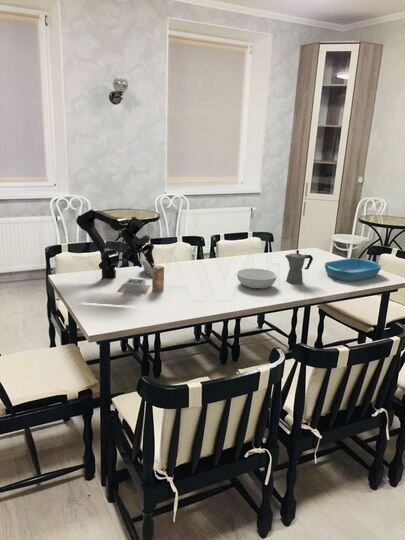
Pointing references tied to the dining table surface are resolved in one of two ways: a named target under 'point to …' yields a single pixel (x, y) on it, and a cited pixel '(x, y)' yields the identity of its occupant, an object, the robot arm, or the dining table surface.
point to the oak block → (158, 279)
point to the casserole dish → (352, 269)
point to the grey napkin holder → (148, 266)
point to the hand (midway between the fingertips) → (147, 265)
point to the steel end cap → (134, 285)
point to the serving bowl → (256, 277)
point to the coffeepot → (296, 267)
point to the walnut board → (139, 293)
